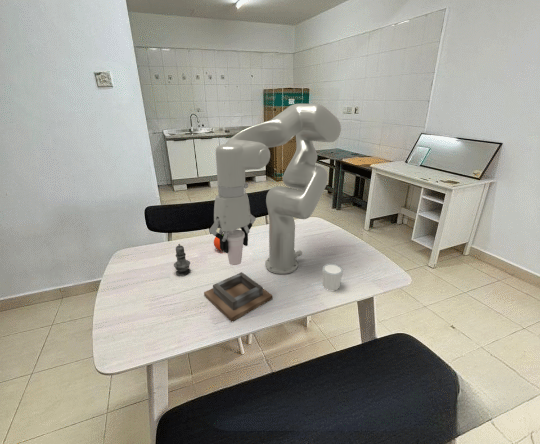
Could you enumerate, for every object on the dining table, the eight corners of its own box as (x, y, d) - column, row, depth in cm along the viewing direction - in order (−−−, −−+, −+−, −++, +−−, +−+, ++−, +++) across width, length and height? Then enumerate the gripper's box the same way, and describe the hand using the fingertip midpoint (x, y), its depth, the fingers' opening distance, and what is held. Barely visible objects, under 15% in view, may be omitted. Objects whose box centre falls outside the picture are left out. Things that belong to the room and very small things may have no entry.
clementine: (234, 246, 127) (233, 231, 124) (230, 253, 121) (229, 238, 118) (216, 245, 128) (215, 230, 125) (212, 252, 121) (210, 237, 119)
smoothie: (225, 257, 91) (222, 216, 86) (245, 256, 92) (244, 215, 86) (224, 268, 85) (221, 224, 80) (245, 267, 86) (244, 224, 80)
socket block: (243, 277, 105) (243, 267, 103) (272, 299, 94) (272, 287, 92) (204, 295, 95) (203, 284, 93) (231, 322, 84) (230, 309, 82)
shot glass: (329, 294, 96) (331, 276, 93) (317, 283, 101) (318, 266, 99) (345, 288, 99) (347, 271, 96) (332, 278, 104) (334, 261, 101)
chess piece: (186, 277, 105) (182, 248, 100) (172, 275, 106) (167, 246, 101) (193, 268, 110) (190, 240, 106) (179, 267, 111) (175, 239, 107)
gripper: (248, 182, 88) (249, 235, 94) (197, 193, 77) (202, 252, 84) (264, 187, 82) (264, 243, 89) (211, 200, 72) (216, 262, 79)
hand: (234, 247), depth 87 cm, fingers closed on smoothie, 6 cm apart
